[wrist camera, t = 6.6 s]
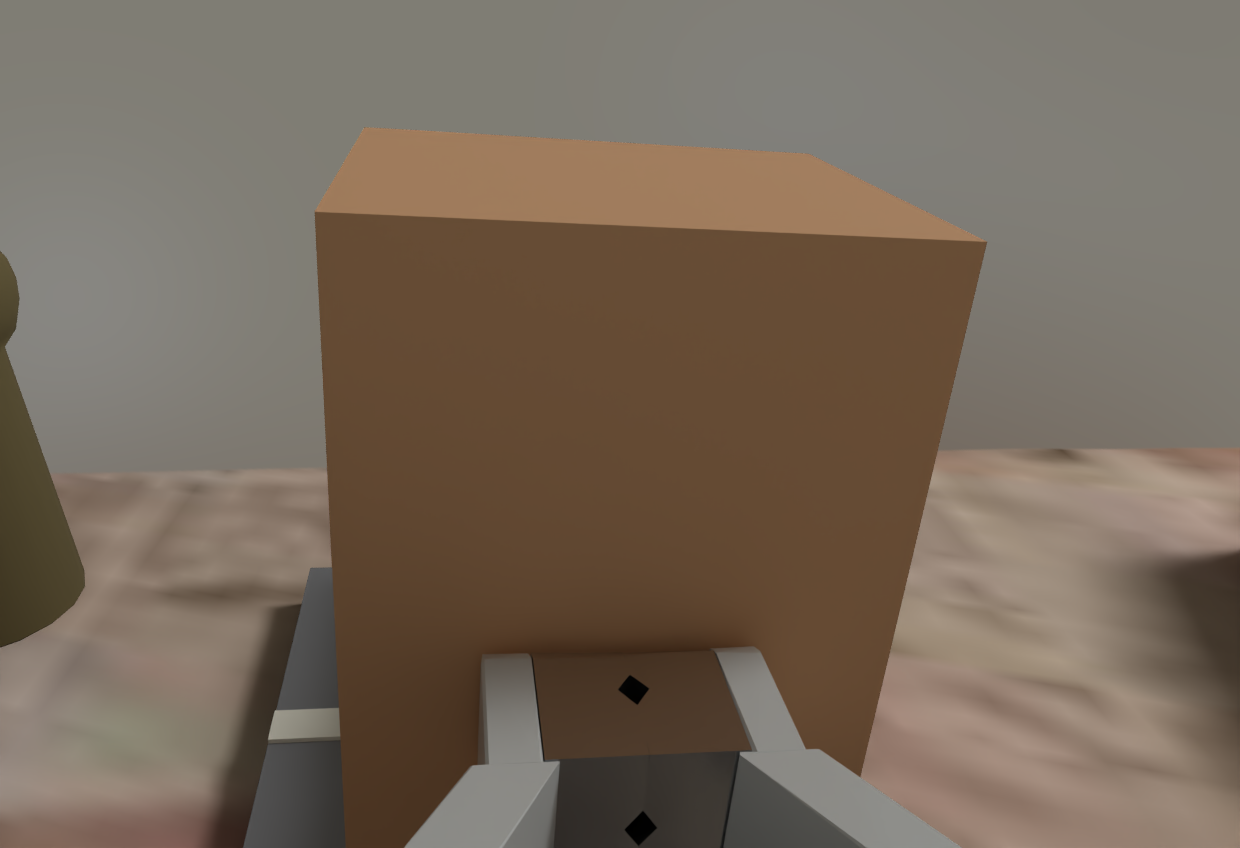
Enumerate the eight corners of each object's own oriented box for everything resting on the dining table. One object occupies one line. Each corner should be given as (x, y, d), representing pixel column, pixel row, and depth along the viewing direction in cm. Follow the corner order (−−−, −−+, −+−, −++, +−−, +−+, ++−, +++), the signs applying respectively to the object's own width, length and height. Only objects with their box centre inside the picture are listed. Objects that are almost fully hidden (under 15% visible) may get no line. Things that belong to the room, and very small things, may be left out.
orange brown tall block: (767, 1168, 15) (987, 241, 9) (363, 1221, 14) (314, 211, 8) (694, 892, 19) (808, 153, 13) (385, 916, 18) (364, 127, 12)
